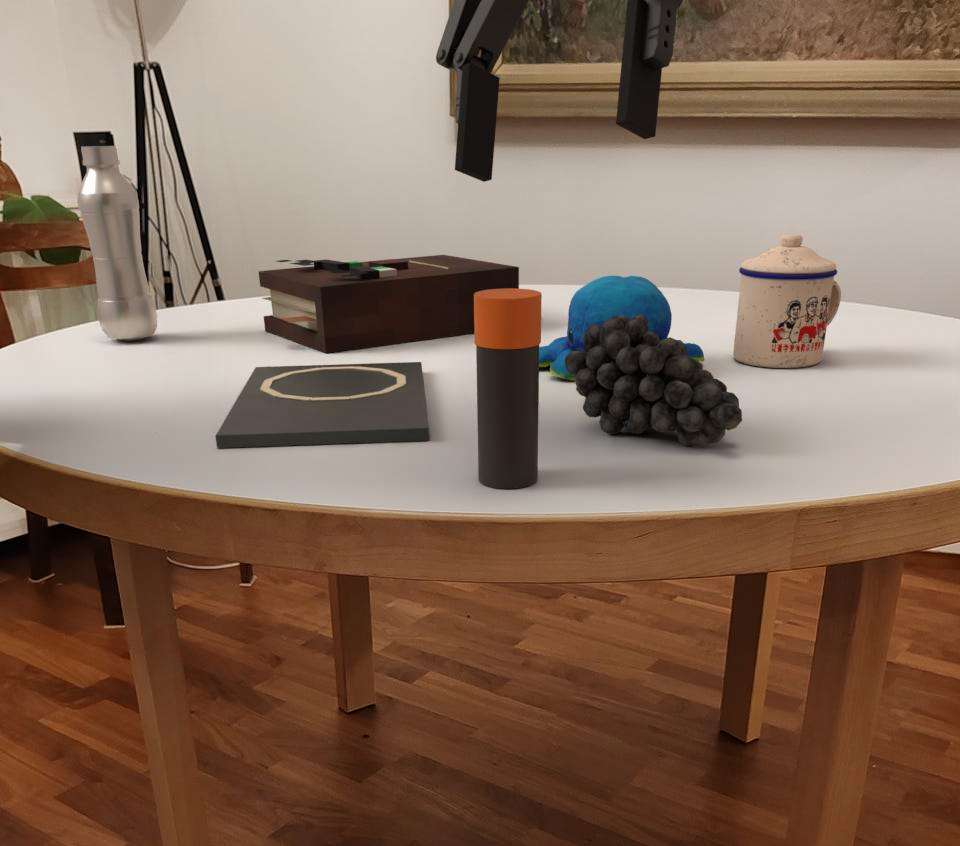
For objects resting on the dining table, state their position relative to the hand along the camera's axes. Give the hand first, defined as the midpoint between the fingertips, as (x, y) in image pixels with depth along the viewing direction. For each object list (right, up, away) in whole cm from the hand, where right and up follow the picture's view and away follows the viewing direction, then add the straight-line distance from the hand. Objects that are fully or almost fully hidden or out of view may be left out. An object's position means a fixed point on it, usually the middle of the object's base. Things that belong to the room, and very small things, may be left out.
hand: (548, 155), depth 61 cm
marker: (-2, -19, +5) cm, 20 cm away
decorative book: (-15, +7, +56) cm, 59 cm away
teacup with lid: (+27, -2, +38) cm, 47 cm away
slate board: (-17, -10, +24) cm, 31 cm away
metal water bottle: (-45, +4, +53) cm, 69 cm away
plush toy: (+9, -3, +36) cm, 38 cm away
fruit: (+9, -15, +14) cm, 22 cm away
